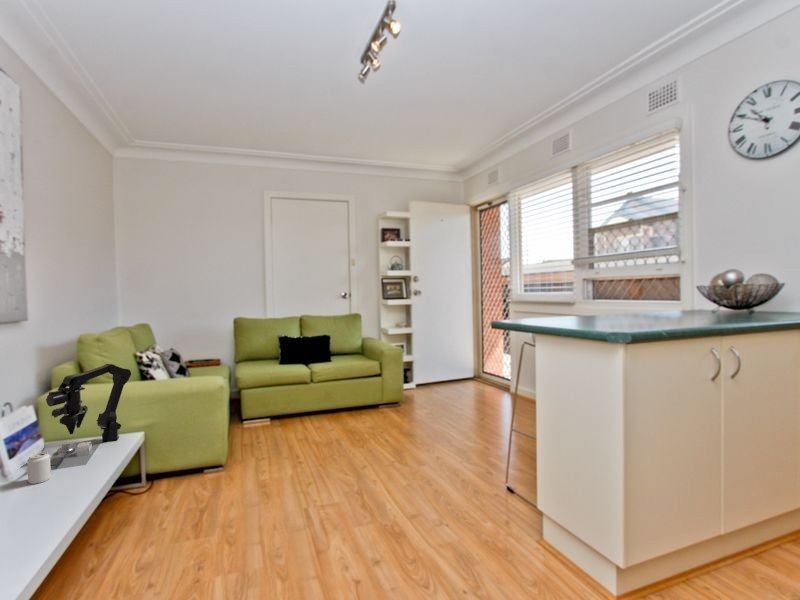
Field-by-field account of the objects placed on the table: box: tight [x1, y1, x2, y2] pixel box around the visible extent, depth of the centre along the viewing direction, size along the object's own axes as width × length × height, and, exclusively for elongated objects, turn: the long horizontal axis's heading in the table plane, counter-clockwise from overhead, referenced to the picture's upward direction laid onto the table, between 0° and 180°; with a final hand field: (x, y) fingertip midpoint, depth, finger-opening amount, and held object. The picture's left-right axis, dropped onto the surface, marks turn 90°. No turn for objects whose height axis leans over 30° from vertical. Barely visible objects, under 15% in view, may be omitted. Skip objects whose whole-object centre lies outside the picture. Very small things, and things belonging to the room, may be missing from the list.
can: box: [26, 451, 52, 485], centre depth 179 cm, size 8×8×12 cm
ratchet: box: [50, 441, 76, 471], centre depth 200 cm, size 7×24×4 cm, turn 24°
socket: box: [76, 441, 93, 457], centre depth 206 cm, size 5×5×5 cm
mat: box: [50, 442, 102, 470], centre depth 203 cm, size 18×28×1 cm, turn 24°
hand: (75, 430), depth 207 cm, fingers open, 9 cm apart
